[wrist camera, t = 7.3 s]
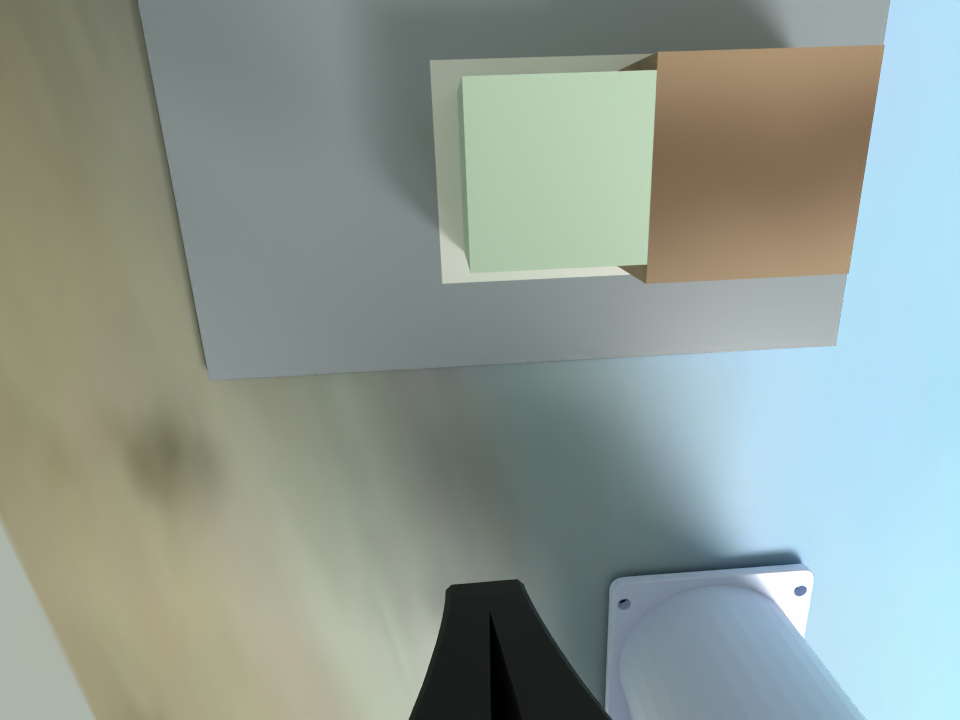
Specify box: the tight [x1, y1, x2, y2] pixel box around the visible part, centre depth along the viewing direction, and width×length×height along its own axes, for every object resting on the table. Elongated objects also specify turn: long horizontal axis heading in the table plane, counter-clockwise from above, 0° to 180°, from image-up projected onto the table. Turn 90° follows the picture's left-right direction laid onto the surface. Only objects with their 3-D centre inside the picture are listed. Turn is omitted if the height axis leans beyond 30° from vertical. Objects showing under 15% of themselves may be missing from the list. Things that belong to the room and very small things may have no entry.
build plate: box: [138, 0, 890, 381], centre depth 19 cm, size 12×21×1 cm, turn 92°
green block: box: [457, 70, 657, 273], centre depth 17 cm, size 5×5×4 cm
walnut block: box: [618, 45, 884, 284], centre depth 17 cm, size 6×6×4 cm
